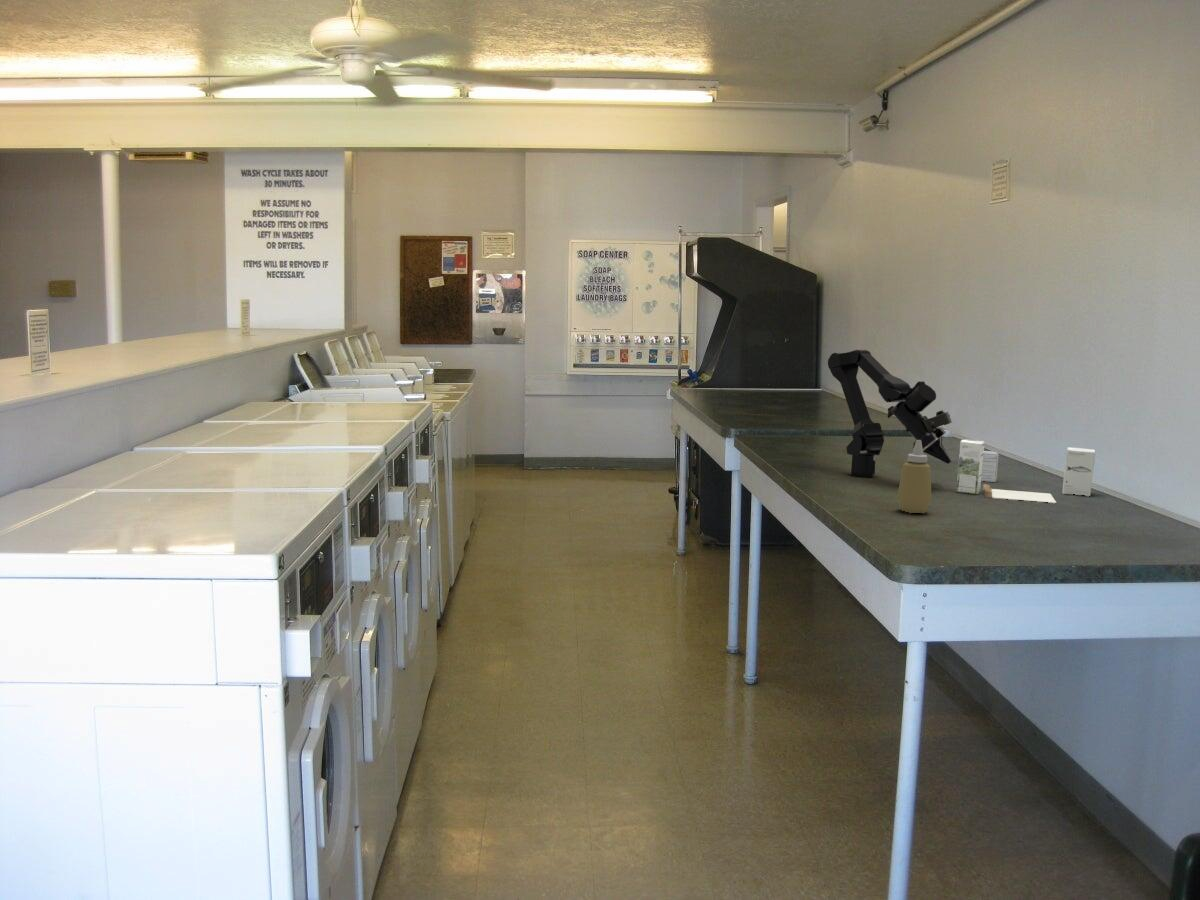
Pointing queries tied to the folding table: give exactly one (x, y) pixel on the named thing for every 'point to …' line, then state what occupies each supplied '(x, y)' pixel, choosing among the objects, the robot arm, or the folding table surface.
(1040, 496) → the mat
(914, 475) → the squeeze bottle
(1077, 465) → the supplement box
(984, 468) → the medicine box
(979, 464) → the syrup box
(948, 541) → the folding table surface
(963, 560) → the folding table surface
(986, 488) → the strip
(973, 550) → the folding table surface
